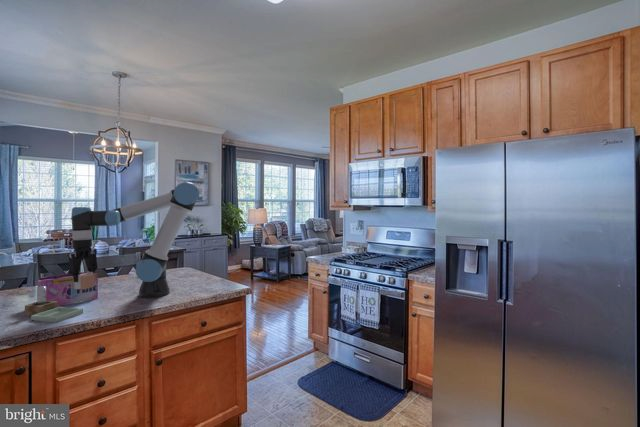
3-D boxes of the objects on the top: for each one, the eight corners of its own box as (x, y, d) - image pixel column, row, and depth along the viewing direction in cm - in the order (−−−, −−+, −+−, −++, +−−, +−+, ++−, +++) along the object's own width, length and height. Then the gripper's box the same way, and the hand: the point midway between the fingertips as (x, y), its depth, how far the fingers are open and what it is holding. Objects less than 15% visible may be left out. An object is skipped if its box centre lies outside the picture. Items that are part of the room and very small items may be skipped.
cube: (94, 286, 161) (94, 274, 160) (83, 289, 155) (83, 276, 154) (84, 285, 162) (83, 273, 161) (73, 289, 156) (72, 276, 156)
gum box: (39, 310, 152) (39, 280, 151) (34, 306, 156) (34, 278, 156) (98, 298, 171) (98, 272, 170) (92, 296, 176) (92, 270, 175)
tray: (83, 312, 148) (83, 308, 148) (56, 322, 136) (56, 317, 135) (59, 311, 150) (59, 306, 150) (31, 320, 138) (30, 315, 138)
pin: (41, 314, 145) (40, 287, 145) (35, 314, 145) (34, 287, 145) (48, 312, 148) (48, 286, 148) (42, 312, 149) (42, 285, 148)
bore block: (57, 311, 150) (57, 301, 150) (40, 316, 142) (39, 306, 142) (43, 310, 151) (43, 300, 151) (24, 315, 144) (24, 305, 143)
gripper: (92, 236, 167) (94, 281, 168) (56, 241, 149) (58, 291, 149) (105, 237, 166) (107, 282, 167) (70, 241, 147) (72, 292, 148)
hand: (84, 286), depth 158 cm, fingers closed on cube, 6 cm apart
